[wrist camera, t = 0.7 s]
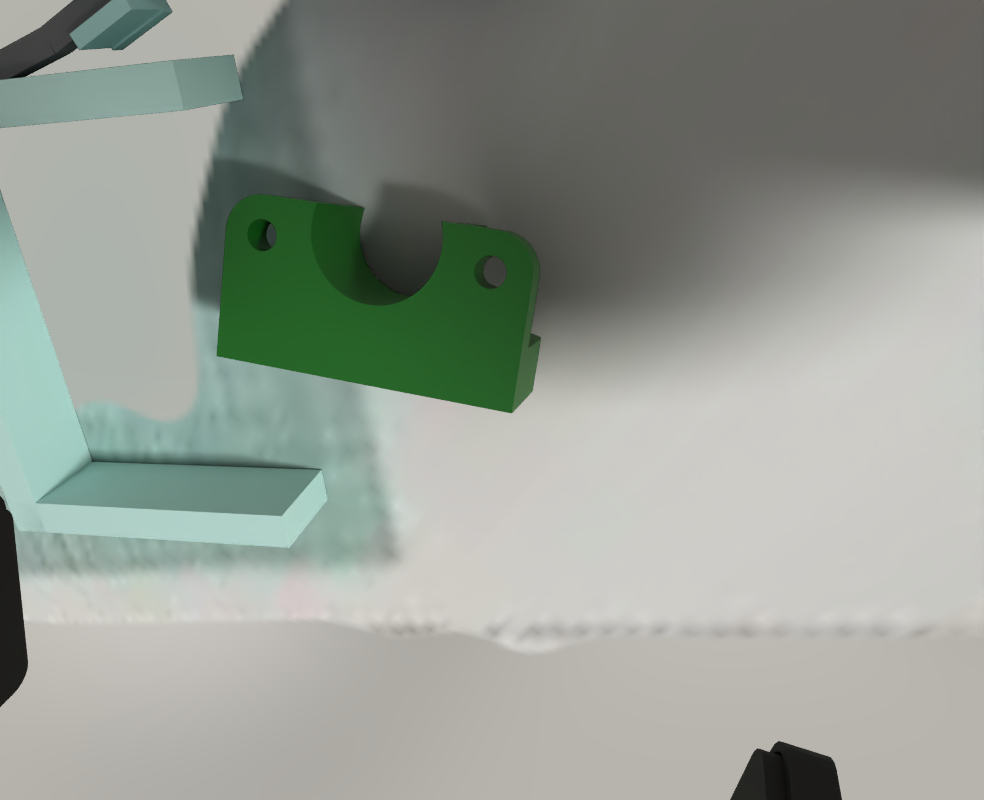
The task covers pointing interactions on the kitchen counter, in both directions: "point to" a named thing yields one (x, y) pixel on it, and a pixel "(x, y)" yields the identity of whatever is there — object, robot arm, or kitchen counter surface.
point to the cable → (47, 41)
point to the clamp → (377, 306)
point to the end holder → (42, 389)
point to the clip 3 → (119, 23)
